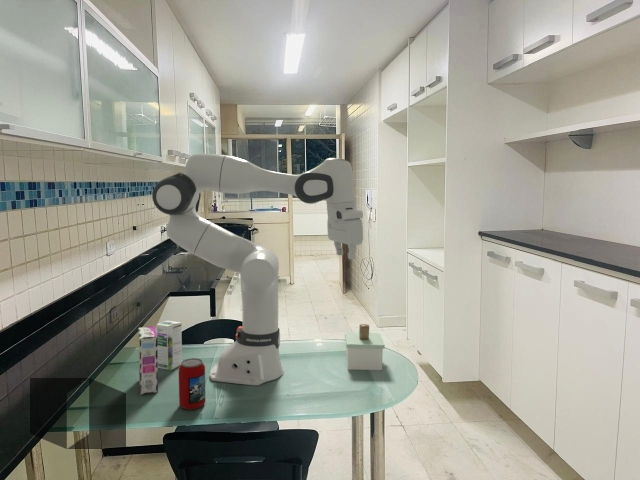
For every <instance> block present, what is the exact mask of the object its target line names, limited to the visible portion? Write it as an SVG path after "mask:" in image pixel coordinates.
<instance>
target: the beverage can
mask: <svg viewBox="0 0 640 480" xmlns="http://www.w3.org/2000/svg"><path fill="white" fill-rule="evenodd" d="M178 398H179V399H178V402H179V403H178V404H179V406H180V407H181V408H183V409H185V410H190V411H191V410H195V409H196V410H197V409H200V408H201V407H202V406H204V404H205V403H206V366H205V364H204V363H203V360H202V359H201V358H197V357H195V358H194V357H193V358H187V359H184V360H182V362H181V365H180V366H178Z"/></svg>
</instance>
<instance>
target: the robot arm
mask: <svg viewBox="0 0 640 480" xmlns="http://www.w3.org/2000/svg"><path fill="white" fill-rule="evenodd" d="M205 191H208V192H209V191H210V192H217V193H223V194H229V195H230V194H232V195H233V194H235V195H236V194H237V195H238V194H240V195H241V194H248V193H254V192H265V191H266V192H273V193H280V194H285V195H290V196H294V197H295V198H297V199H298V200H299V201H301V202H302V203H305V204H307V205H313V204H317V203H319V202H321V201H326V210H327V212H326V213H327V227H326V228H327V237H328V240H329V241H332V242H333V245H334V247H335V250H336V255H337V256H343V255H344V249H343V246H342V244H345V245H347V248H348V252H347V258H348V260H355V259H356V251H357V246H359V245H362V244H363V241H364V229H363V226H364V225H363V221H362V218H363V217H364V213H363V210H362V209H361V208H360V207H359V206H358V205H357V202H356V197H355V193H354V192H355V176H354V171H353V167H352V164H351V162H349V160H347V159H346V158H345V159H344V158H338V157H337V158H336V157H329V158H326V159H325V160H323V162H321V163H320V164H319V165H317V166H315V167H314V168H312V169H310V170H307V171H306V172H303V173H299V174H290V173H284V172H283V173H282V172H276V171H272V170H267V169H265V168H261V167H260V166H258V165H256V164H254V163H252V162H250V161H248V160H245V159H242V158H240V157H236V156H232V155H226V154H220V153H219V154H217V153H195V154H192V155H191V156H190V157H189V158H188V159H187V161H186V163H185V168H184V172H183V173H182V172H178V173H176V174H173V175H170V176H167V177H165V178H163V179H161V180H160V181H158V183H157V184H156V185H155V186H154V188H153V191H152V193H151V194H152V196H151V198H152V202H153V205H154V206H155V208H156V209H157V210H159V211H160V212H161V213H163V214H165V215H169V220H168V223H167V225H166V236H167V237H168V238H169V239H170V240H171V241H172V242H173V243H175V244H176V245H178V246H179V247H180V248H182V249H184V250H185V251H186V252H189V253H190V254H192V255H194V256H196V257H198V258H199V259H202V260H204V261H206V262H208V263H210V264H212V265H214V266H216V268H217V267H218V268H222V269H225V270H228V271H230V272H231V271H232V272H234V273H236V274H239V275H240V292H241V304H242V310H241V311H242V313H241V314H242V326H241V325H240V326H238V327H237V328H236V333H235V341H234V342H232V343H231V344H230V345H228V346H227V347H226V348H224V349H223V351H221V353H220V354H219V357H218V360H217V363H216V364H215V365H214V366H213V367H212V368H211V370H210V373H209V379H210V380H211V381H213V382H220V383H229V384H230V383H231V384H239V385H246V386H260V385H262V384H264V383H267V382H270V381H274V380H276V379H278V378H280V377H281V376H282V375H283V374H284V369H283V366H282V362H281V356H280V345H281V333H280V327H279V258H278V256H277V255H276V253H275V252H273V251H272V250H271V249H269V248H267V247H265V246H263V245H260V244H258V243H255V242H254V241H252V240H250V239H246V238H244V237H242V236H239V235H237V234H235V233H233V232H231V231H229V230H227V229H225V228H223V227H221V226H219V225H218V224H215V223H213V222H212V221H210V220H207V219H206V218H204V217H203V216H200V215H199V214H198V212H199V206H200V200H201V195H202V194H201V193H202V192H205Z"/></svg>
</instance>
